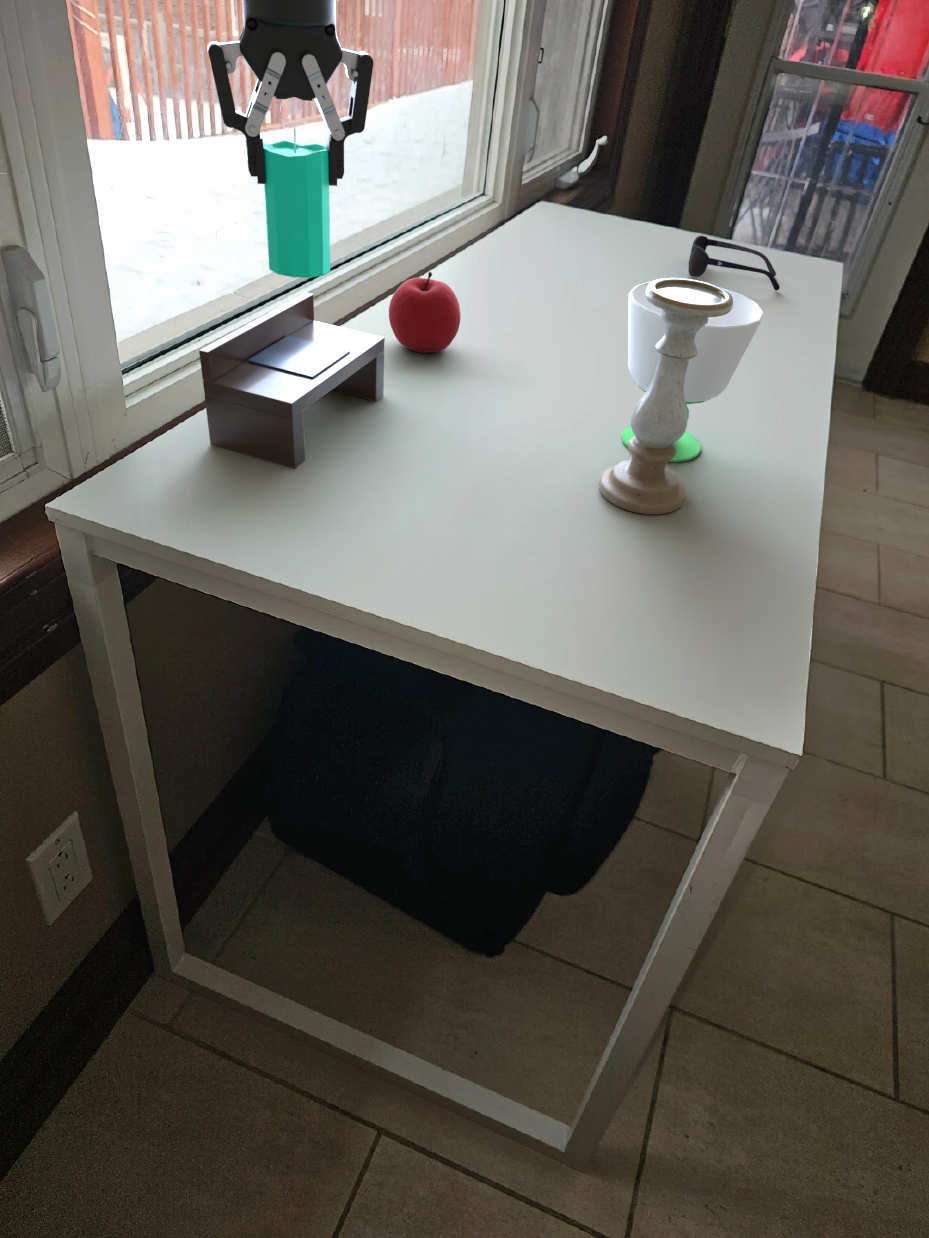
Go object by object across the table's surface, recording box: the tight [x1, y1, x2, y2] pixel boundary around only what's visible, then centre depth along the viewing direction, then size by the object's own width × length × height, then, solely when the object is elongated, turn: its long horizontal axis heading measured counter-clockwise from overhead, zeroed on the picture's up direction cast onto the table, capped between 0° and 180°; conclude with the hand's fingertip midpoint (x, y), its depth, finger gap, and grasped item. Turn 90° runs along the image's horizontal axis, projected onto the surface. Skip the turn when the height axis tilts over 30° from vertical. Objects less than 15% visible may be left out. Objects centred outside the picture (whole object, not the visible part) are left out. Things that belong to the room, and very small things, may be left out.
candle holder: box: [598, 277, 733, 515], centre depth 79 cm, size 9×9×20 cm
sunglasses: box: [688, 235, 781, 291], centre depth 145 cm, size 14×16×5 cm
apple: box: [388, 271, 461, 354], centre depth 108 cm, size 9×9×10 cm
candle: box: [263, 126, 331, 279], centre depth 78 cm, size 6×6×12 cm
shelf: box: [198, 292, 385, 469], centre depth 89 cm, size 20×10×10 cm, turn 158°
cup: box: [620, 280, 765, 463], centre depth 90 cm, size 14×14×16 cm
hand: (296, 182), depth 77 cm, fingers closed on candle, 6 cm apart
